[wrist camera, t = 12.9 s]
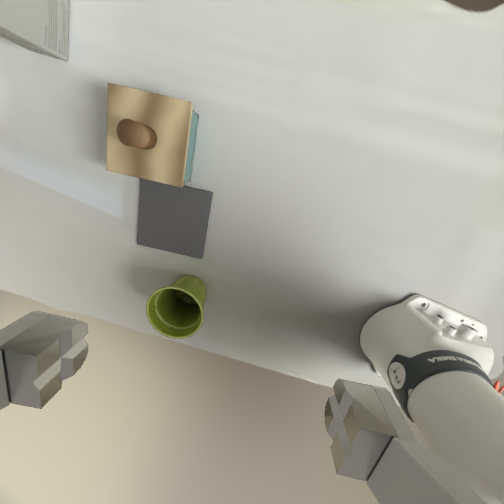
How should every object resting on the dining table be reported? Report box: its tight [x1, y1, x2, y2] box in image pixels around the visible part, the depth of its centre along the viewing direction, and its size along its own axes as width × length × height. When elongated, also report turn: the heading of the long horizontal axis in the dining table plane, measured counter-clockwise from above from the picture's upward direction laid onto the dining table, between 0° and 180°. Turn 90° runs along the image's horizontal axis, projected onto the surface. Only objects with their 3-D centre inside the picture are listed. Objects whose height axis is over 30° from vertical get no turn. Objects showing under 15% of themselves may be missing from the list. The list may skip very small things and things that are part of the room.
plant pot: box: [146, 275, 206, 339], centre depth 43 cm, size 9×9×9 cm
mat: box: [137, 178, 213, 259], centre depth 42 cm, size 12×12×1 cm
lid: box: [106, 83, 193, 187], centre depth 31 cm, size 11×11×5 cm
